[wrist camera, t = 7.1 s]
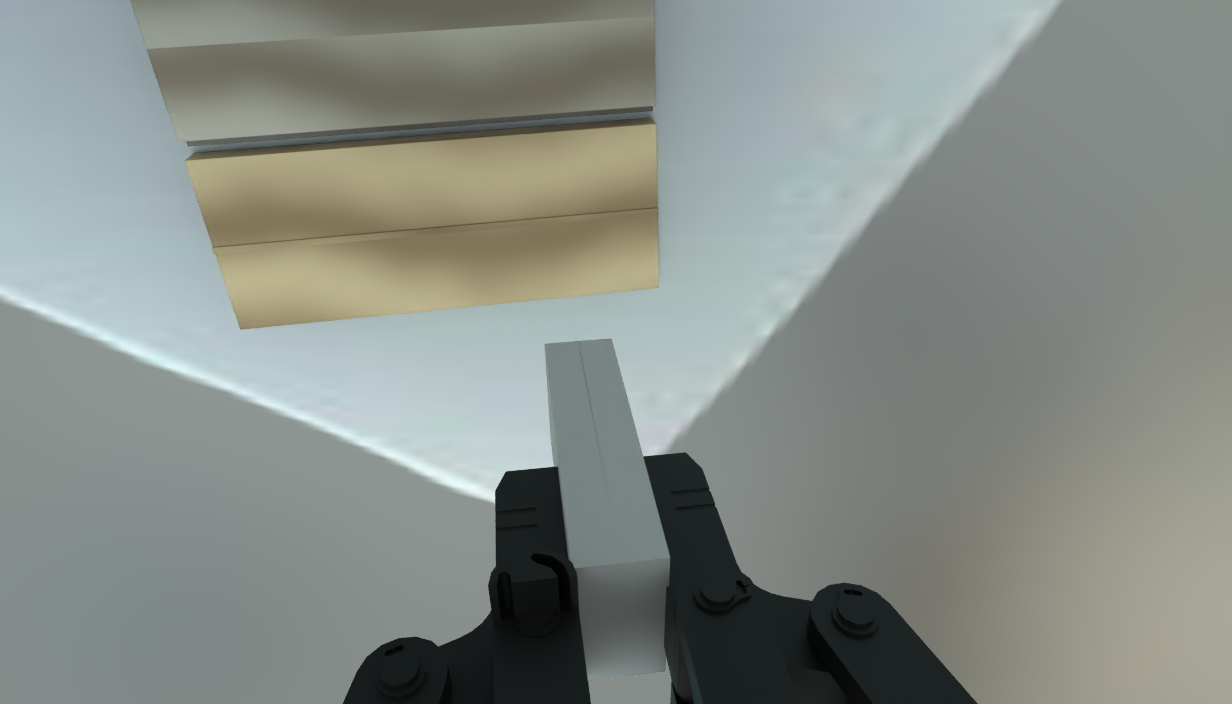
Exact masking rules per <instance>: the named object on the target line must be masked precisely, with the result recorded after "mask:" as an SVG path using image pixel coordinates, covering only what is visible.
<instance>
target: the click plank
mask: <svg viewBox="0 0 1232 704" xmlns="http://www.w3.org/2000/svg"><path fill="white" fill-rule="evenodd" d="M185 164H186V167H187V170H188V173H189V176H190V179H191V182H192V185H193V188H194V191H195V194H196V197H197V200H198V203H199V206H200V209H201V212H202V215H203V218H204V221H205V224H206V228H207V231H208V234H209V237H210V240H211V243H212V246H213V248H212V249H213V252H214V254H215V255H216V258H217V261H218V264H219V267H220V270H221V273H222V276H223V279H224V282H225V285H226V288H227V291H228V294H229V297H230V300H231V303H232V306H233V309H234V312H235V315H236V318H237V321H238V324H239V327H240V330H241V329H251V328H261V327H271V326H281V325H291V324H301V323H311V322H321V321H331V320H341V319H351V318H361V317H371V316H381V315H391V314H401V313H411V312H422V311H432V310H442V309H452V308H462V307H472V306H482V305H492V304H502V303H512V302H522V301H532V300H542V299H552V298H562V297H572V296H582V295H592V294H602V293H613V292H623V291H633V290H643V289H653V288H659V265H658V207H657V150H656V123H655V122H654V121H653V119H652V118H644V119H631V120H618V121H605V122H592V123H579V124H566V125H553V126H540V127H527V128H514V129H502V130H489V131H476V132H463V133H450V134H437V135H424V136H411V137H398V138H385V139H372V140H359V141H346V142H333V143H321V144H308V145H295V146H282V147H269V148H256V149H243V150H230V151H217V152H204V153H194V154H193V155H191V156H190V157H189V158H187V159H186V160H185Z"/></svg>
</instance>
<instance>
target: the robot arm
mask: <svg viewBox="0 0 1232 704" xmlns="http://www.w3.org/2000/svg"><path fill="white" fill-rule="evenodd" d="M545 357H546V372H547V387H548V403H549V418H550V433H551V445H552V454H553V463H554V467H548V468H538V469H527V470H517V471H507V472H506V473H505V474H504V476H503V478H502V480H501V482H500V483H499V485H498V487H497V489H496V491H495V511H496V567H495V568H494V570H493V571H492V572H491V576H490V581H489V585H488V588H489V595H490V602H491V609H492V610H491V612H490V614H489V615H488V616H487V618H486V619H485V620H484V621H483V623H482V624H480V625H479V626H478V627H477V628H475V629H474V630H473V631H472V632H470V633H468V634H466V635H464V636H462V637H460V638H458V639H456V640H453V641H451V642H449V643H446V644H444V645H441V646H439V647H438V646H437V645H436V644H435V643H433V642H432V641H429V640H426V639H422V638H419V637H408V638H398V639H396V640H393V641H391V642H388V643H386V644H384V645H381V646H380V647H379V648H377V649H376V650H375V651H374V652H372V653H371V654H370V655H369V656H367V657H366V659H365V661H364V662H363V664H362V665H361V666H360V668H359V669H358V671H357V673H356V675H355V677H354V680H353V682H352V684H351V686H350V688H349V691H348V693H347V695H346V698H345V700H344V702H343V704H591V702H590V694H589V686H588V681H594V680H602V679H610V678H617V677H625V676H632V675H640V674H647V673H655V672H663V671H665V668H666V667H665V666H666V657H667V662H668V666H669V670H670V674H671V679H672V682H671V702H670V704H977V703H976V701H975V700H974V699H973V698H972V697H971V696H970V695H969V693H967V691H966V690H965V689H964V688H963V687H962V685H961V684H960V683H959V682H958V681H957V680H956V679H955V677H954V676H953V675H952V674H951V673H950V672H949V671H948V669H947V668H946V667H945V666H944V665H943V664H942V663H941V661H940V660H939V659H938V658H937V657H936V656H935V655H934V654H933V652H932V651H931V650H930V649H929V648H928V647H927V646H926V645H925V643H924V642H923V641H922V640H921V639H920V637H919V636H918V635H917V634H916V633H915V632H914V631H913V629H912V628H911V627H910V626H909V625H908V624H907V623H906V622H905V620H904V619H903V618H902V617H901V616H900V615H899V614H898V612H897V611H896V610H895V609H894V608H893V607H892V606H891V604H890V603H889V602H887V601H886V600H885V599H884V598H882V597H881V596H880V595H879V594H878V593H877V592H874V591H872V590H870V589H868V588H866V587H863V586H861V585H855V584H849V583H840V584H834V585H829V586H827V587H825V588H824V589H822V590H820V591H819V592H817V594H816V596H815V598H814V599H813V601H809V600H802V599H796V598H790V597H783V596H780V595H776V594H772V593H769V592H767V591H765V590H762V589H760V588H759V587H757V586H756V585H754V584H753V582H752V581H751V579H750V578H749V577H747V576H746V575H745V574H743V573H742V572H741V570H740V569H739V567H738V565H737V563H736V560H735V557H734V555H733V552H732V549H731V546H730V544H729V541H728V538H727V535H726V533H725V530H724V527H723V525H722V522H721V519H720V516H719V514H718V511H717V508H716V507H715V503H714V500H713V497H712V494H711V492H710V491H709V486H708V483H707V481H706V478H705V475H704V473H703V470H702V468H701V467H700V466H699V465H698V464H697V463H696V462H695V461H694V460H693V459H691V457H690V456H689V455H688V454H687V453H676V454H665V455H655V456H644V457H643V454H642V450H641V447H640V443H639V439H638V435H637V432H636V428H635V424H634V421H633V417H632V413H631V409H630V406H629V402H628V398H627V395H626V391H625V387H624V383H623V380H622V376H621V372H620V369H619V365H618V361H617V357H616V354H615V350H614V346H613V342H612V339H600V340H587V341H574V342H562V343H549V344H545Z"/></svg>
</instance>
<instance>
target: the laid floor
mask: <svg viewBox="0 0 1232 704" xmlns="http://www.w3.org/2000/svg"><path fill="white" fill-rule="evenodd" d="M130 1H131V4H132V7H133V10H134V13H135V16H136V19H137V22H138V24H139V27H140V30H141V33H142V36H143V39H144V42H145V45H146V48H147V51H148V54H149V57H150V60H151V63H152V66H153V69H154V72H155V75H156V78H157V81H158V84H159V87H160V90H161V93H162V96H163V99H164V102H165V105H166V108H167V111H168V114H169V117H170V120H171V123H172V126H173V129H174V131H175V134H176V137H177V140H178V142H184V141H186V142H187V145H188V146H201V145H214V144H227V143H240V142H253V141H266V140H279V139H292V138H305V137H318V136H331V135H344V134H358V133H371V132H384V131H397V130H410V129H423V128H436V127H449V126H462V125H475V124H488V123H501V122H515V121H528V120H541V119H554V118H567V117H580V116H593V115H606V114H619V113H632V112H645V111H653V106H656V88H655V24H654V0H130Z"/></svg>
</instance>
